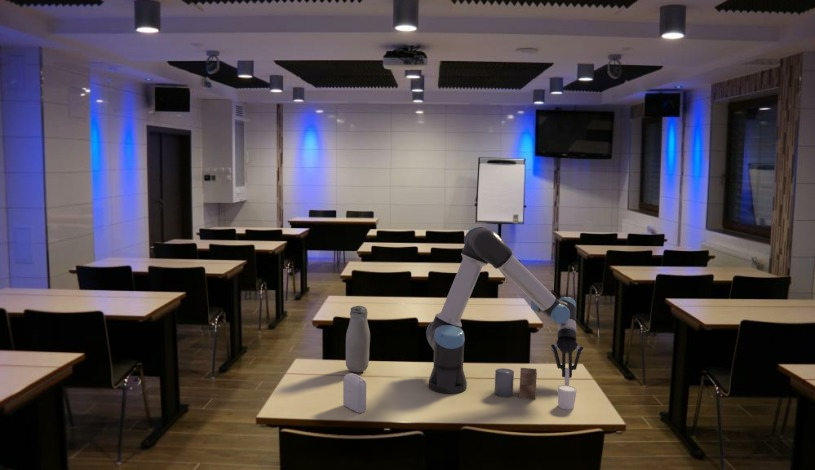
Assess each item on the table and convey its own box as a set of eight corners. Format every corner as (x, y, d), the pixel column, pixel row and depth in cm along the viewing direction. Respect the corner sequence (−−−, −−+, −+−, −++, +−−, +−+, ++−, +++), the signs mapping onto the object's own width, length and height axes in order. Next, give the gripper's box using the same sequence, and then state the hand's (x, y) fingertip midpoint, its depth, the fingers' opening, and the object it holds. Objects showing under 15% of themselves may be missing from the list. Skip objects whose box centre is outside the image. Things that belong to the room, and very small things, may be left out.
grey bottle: (344, 375, 263) (345, 308, 260) (346, 367, 273) (347, 303, 270) (368, 375, 263) (369, 309, 260) (369, 367, 273) (371, 303, 270)
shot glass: (554, 407, 234) (555, 389, 234) (559, 401, 240) (560, 383, 240) (573, 411, 231) (574, 392, 230) (577, 405, 237) (578, 387, 236)
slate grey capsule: (494, 396, 244) (495, 373, 243) (494, 389, 251) (495, 367, 250) (512, 397, 243) (513, 375, 242) (512, 391, 250) (513, 369, 249)
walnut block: (519, 398, 243) (520, 372, 242) (519, 392, 249) (520, 367, 248) (535, 399, 242) (536, 373, 241) (535, 393, 248) (536, 368, 247)
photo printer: (341, 405, 231) (341, 372, 230) (351, 402, 234) (351, 369, 232) (357, 414, 223) (358, 380, 222) (367, 411, 226) (368, 377, 224)
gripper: (582, 337, 267) (583, 390, 252) (550, 335, 269) (549, 387, 255) (584, 328, 261) (585, 381, 246) (551, 326, 263) (550, 378, 249)
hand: (566, 384), depth 250 cm, fingers closed
